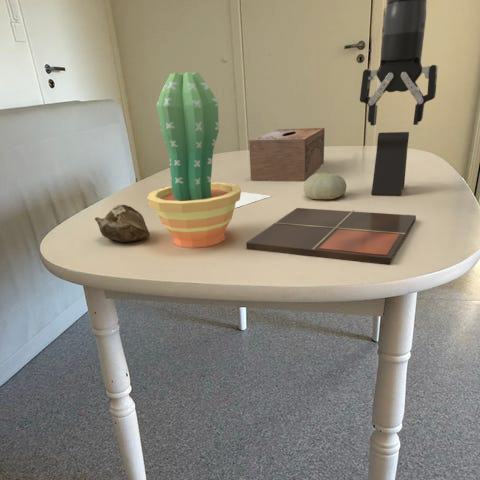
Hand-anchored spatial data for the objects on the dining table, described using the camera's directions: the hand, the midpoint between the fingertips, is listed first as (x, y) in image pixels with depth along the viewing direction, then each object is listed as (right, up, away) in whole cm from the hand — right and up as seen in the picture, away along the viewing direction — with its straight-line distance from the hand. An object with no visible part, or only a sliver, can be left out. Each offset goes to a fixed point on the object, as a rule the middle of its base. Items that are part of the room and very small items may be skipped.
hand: (393, 124), depth 92 cm
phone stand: (+1, -12, +6) cm, 14 cm away
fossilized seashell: (-52, -26, -13) cm, 60 cm away
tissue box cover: (-18, +2, +35) cm, 39 cm away
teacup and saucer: (-39, -13, +9) cm, 42 cm away
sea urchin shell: (-13, -14, +6) cm, 20 cm away
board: (-16, -26, -18) cm, 36 cm away
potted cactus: (-39, -27, -16) cm, 50 cm away
